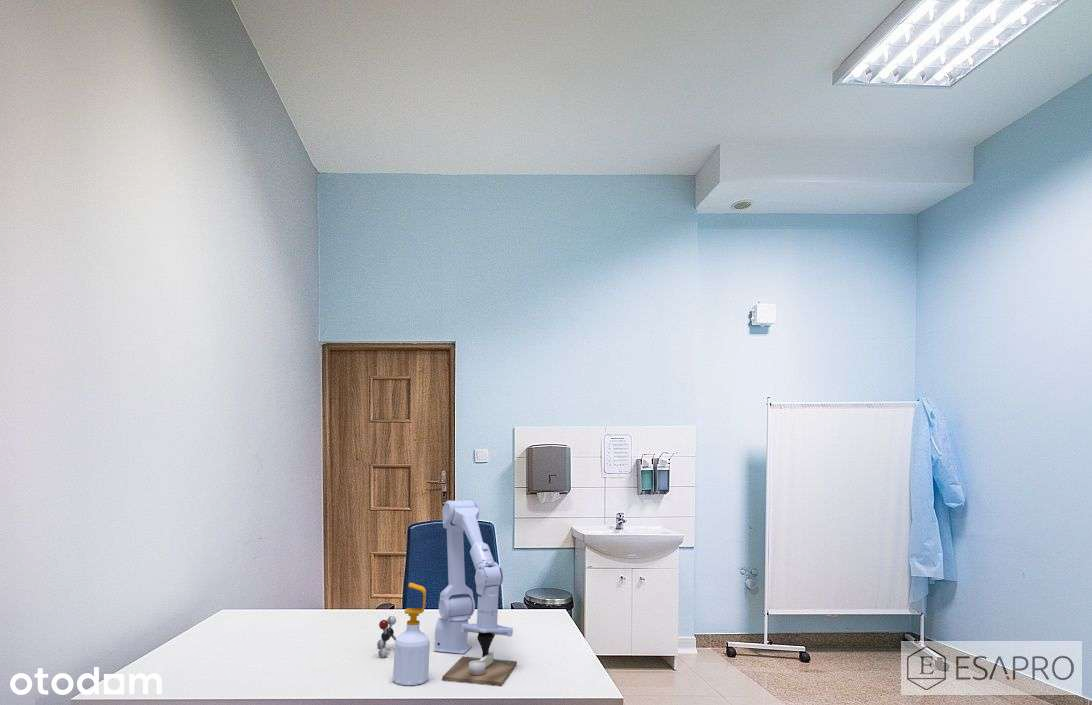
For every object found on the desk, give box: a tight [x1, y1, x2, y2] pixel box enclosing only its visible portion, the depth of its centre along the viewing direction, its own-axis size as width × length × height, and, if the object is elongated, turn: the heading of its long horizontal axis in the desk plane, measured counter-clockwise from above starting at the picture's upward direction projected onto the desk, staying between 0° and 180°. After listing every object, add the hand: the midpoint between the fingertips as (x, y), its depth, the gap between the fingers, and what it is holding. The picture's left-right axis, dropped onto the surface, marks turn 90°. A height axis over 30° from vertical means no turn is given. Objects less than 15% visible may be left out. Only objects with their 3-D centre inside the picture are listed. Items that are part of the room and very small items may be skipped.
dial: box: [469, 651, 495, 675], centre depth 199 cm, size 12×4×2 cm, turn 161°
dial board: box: [441, 655, 518, 687], centre depth 199 cm, size 16×18×1 cm
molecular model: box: [376, 615, 397, 659], centre depth 214 cm, size 8×12×11 cm
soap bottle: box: [392, 582, 431, 686], centre depth 192 cm, size 9×9×25 cm
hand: (485, 660), depth 203 cm, fingers closed, pressing on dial
